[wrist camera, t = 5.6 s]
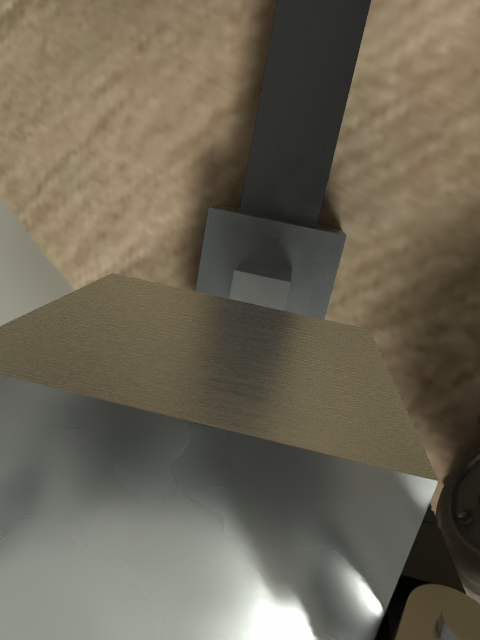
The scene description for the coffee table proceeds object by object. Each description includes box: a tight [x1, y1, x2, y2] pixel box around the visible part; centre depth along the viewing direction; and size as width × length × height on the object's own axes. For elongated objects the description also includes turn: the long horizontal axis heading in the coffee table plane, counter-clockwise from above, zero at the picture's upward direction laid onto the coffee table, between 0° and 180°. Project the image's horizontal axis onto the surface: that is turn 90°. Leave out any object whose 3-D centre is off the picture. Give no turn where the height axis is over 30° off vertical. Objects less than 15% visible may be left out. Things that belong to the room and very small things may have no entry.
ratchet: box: [196, 0, 371, 319], centre depth 21 cm, size 18×7×6 cm, turn 169°
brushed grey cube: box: [0, 273, 438, 640], centre depth 8 cm, size 6×6×5 cm
